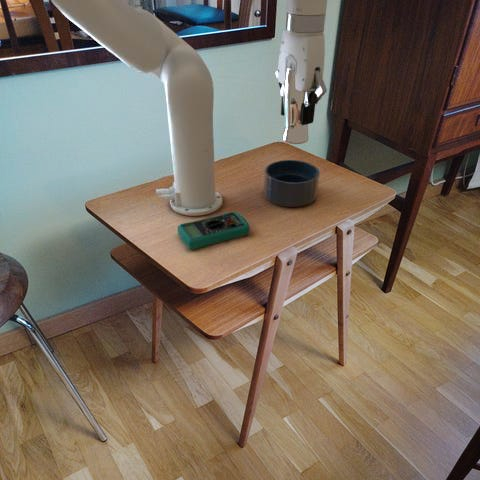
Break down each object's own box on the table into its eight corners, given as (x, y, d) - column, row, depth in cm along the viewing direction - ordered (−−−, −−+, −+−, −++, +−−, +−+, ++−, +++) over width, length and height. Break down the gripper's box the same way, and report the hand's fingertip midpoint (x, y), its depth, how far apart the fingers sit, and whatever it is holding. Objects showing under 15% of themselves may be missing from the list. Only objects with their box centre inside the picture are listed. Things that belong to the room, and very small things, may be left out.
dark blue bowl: (271, 211, 106) (272, 185, 102) (258, 186, 116) (259, 162, 111) (323, 206, 108) (326, 180, 104) (307, 182, 117) (309, 158, 113)
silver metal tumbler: (295, 131, 106) (301, 60, 96) (316, 140, 102) (325, 67, 92) (273, 138, 103) (277, 65, 93) (294, 147, 99) (301, 72, 89)
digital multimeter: (252, 235, 98) (252, 223, 96) (189, 252, 93) (188, 240, 91) (237, 220, 103) (237, 208, 101) (176, 235, 98) (175, 223, 96)
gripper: (263, 18, 91) (260, 111, 104) (319, 33, 81) (308, 134, 93) (292, 15, 94) (286, 105, 107) (350, 29, 84) (335, 127, 96)
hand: (296, 118), depth 100 cm, fingers closed on silver metal tumbler, 6 cm apart
